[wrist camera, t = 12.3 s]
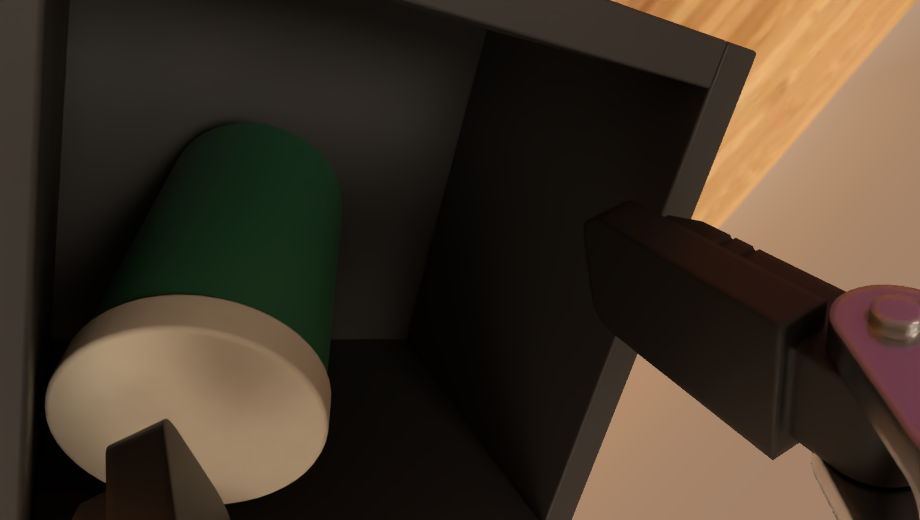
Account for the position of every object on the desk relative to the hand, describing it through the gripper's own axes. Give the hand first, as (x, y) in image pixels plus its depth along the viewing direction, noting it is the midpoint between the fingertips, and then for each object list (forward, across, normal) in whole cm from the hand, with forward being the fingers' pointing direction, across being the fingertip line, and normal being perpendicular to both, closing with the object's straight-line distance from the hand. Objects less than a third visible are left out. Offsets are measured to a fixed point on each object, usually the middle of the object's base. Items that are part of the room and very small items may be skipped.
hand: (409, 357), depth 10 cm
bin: (+9, 0, 0) cm, 9 cm away
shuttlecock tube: (+8, +1, 0) cm, 8 cm away
